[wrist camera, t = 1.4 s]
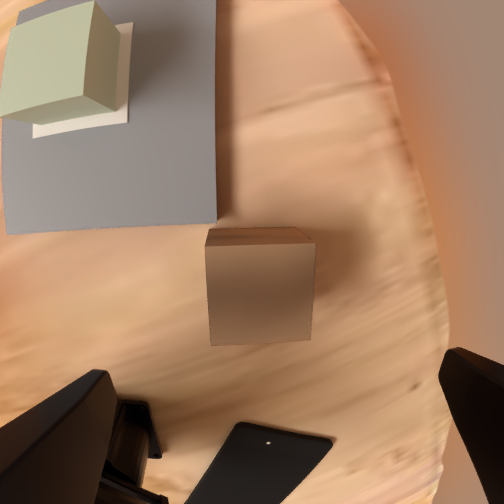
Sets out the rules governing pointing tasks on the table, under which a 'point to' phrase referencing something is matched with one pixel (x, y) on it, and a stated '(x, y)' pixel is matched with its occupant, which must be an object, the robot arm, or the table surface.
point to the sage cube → (61, 66)
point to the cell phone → (259, 466)
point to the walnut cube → (259, 285)
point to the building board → (125, 131)
